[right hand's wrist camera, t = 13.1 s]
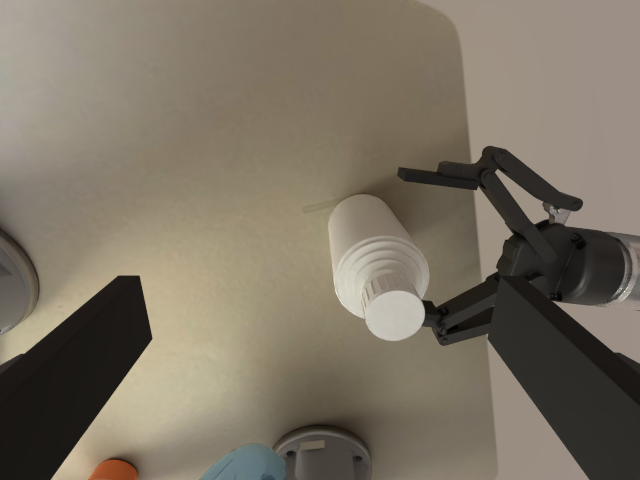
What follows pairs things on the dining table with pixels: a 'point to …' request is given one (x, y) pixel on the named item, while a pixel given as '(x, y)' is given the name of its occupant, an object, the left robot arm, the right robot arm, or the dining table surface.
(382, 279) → the cap
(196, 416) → the dining table surface
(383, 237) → the bottle
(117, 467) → the cup with straw
